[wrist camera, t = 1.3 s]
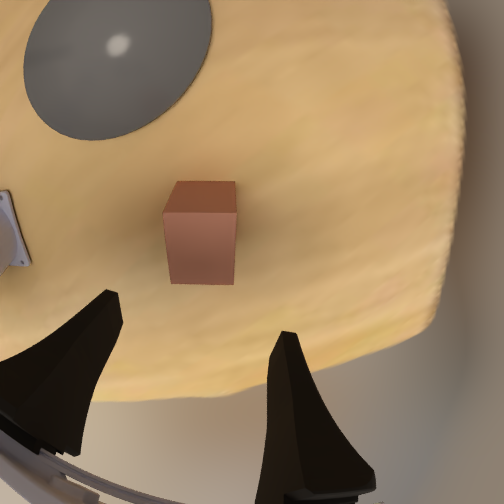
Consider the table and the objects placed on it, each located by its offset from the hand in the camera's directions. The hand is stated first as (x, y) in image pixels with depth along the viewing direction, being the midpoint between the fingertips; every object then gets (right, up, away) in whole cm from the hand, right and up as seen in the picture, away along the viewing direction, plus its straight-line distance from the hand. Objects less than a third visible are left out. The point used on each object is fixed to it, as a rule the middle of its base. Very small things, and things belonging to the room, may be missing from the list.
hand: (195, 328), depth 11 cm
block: (-1, +6, +9) cm, 11 cm away
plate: (-7, +17, +1) cm, 18 cm away
